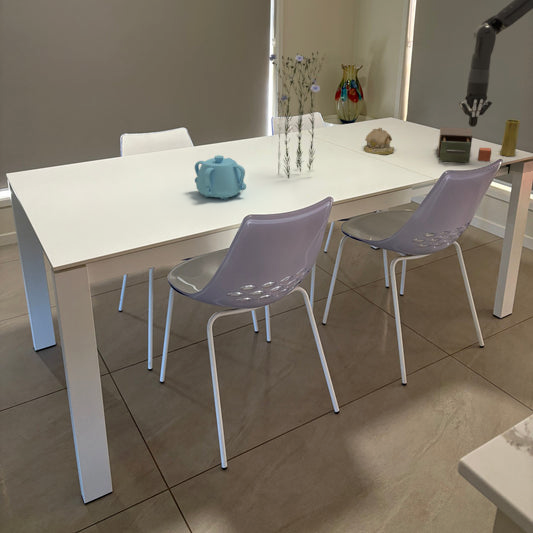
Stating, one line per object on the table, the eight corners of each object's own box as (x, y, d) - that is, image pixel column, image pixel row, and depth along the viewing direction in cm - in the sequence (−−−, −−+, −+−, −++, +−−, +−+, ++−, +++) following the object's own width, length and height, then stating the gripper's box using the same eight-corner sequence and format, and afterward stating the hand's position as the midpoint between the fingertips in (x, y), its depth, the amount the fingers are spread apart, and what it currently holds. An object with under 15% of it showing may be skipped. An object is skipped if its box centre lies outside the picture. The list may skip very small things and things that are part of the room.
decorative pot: (200, 204, 197) (198, 164, 191) (194, 189, 211) (191, 152, 205) (248, 199, 200) (247, 160, 194) (238, 185, 214) (237, 148, 208)
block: (477, 157, 245) (479, 147, 243) (489, 158, 244) (490, 148, 242) (478, 160, 241) (480, 150, 239) (489, 161, 240) (491, 150, 238)
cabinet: (469, 159, 244) (472, 135, 240) (437, 157, 247) (440, 134, 243) (467, 150, 256) (470, 128, 252) (437, 148, 259) (440, 127, 255)
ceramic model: (358, 150, 259) (359, 127, 255) (374, 145, 265) (376, 123, 261) (383, 156, 249) (385, 132, 245) (399, 151, 256) (401, 128, 252)
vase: (499, 155, 248) (505, 121, 242) (499, 152, 253) (505, 118, 247) (515, 157, 246) (521, 122, 240) (515, 153, 251) (521, 119, 245)
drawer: (469, 165, 232) (472, 145, 229) (439, 163, 235) (441, 144, 232) (467, 154, 248) (470, 135, 244) (439, 152, 250) (441, 134, 247)
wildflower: (310, 164, 238) (312, 46, 219) (335, 180, 219) (340, 52, 199) (258, 170, 231) (256, 49, 212) (279, 187, 212) (279, 55, 192)
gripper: (467, 82, 220) (461, 129, 228) (499, 81, 222) (492, 127, 230) (457, 80, 227) (452, 125, 235) (489, 78, 229) (483, 123, 236)
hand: (472, 126), depth 232 cm, fingers closed
